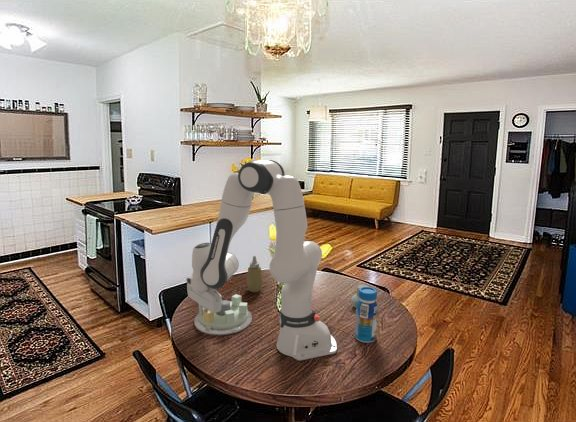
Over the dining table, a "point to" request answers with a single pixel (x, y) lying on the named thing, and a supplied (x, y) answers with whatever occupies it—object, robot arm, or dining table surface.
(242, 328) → the mount plate
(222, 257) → the robot arm
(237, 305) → the green toy gear
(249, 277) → the squeeze bottle
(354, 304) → the air freshener
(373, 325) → the blue wipes canister
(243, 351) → the dining table surface
